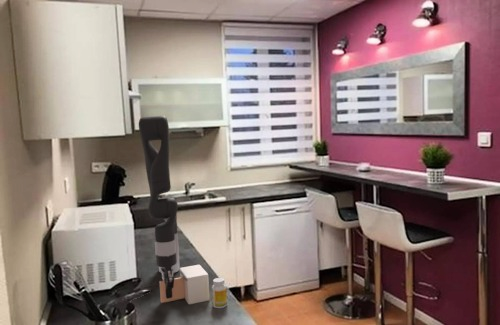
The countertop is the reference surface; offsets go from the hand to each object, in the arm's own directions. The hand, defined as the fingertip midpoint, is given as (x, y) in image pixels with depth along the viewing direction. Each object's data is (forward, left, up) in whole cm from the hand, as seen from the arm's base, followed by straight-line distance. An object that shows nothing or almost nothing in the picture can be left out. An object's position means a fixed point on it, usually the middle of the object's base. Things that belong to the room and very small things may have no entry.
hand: (168, 296), depth 159 cm
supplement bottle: (+12, +16, -2) cm, 20 cm away
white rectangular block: (0, +10, -2) cm, 10 cm away
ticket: (0, +4, -2) cm, 4 cm away
